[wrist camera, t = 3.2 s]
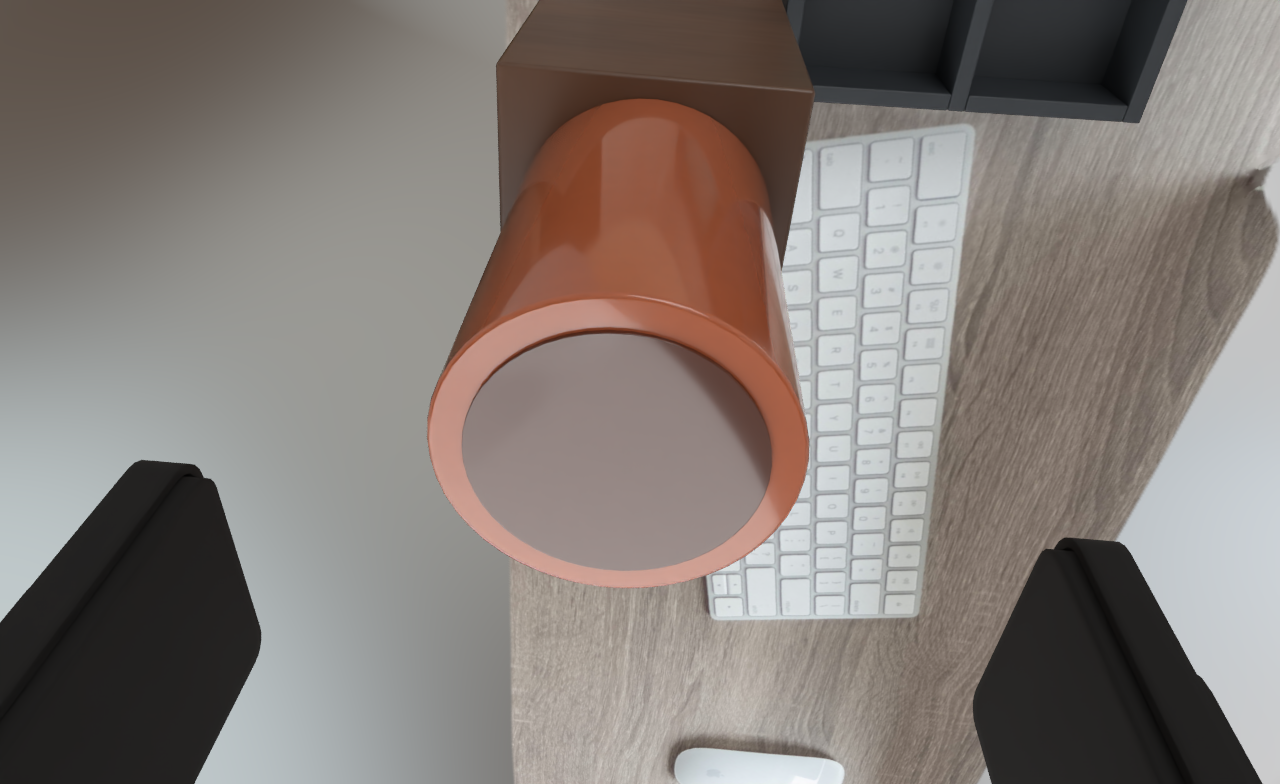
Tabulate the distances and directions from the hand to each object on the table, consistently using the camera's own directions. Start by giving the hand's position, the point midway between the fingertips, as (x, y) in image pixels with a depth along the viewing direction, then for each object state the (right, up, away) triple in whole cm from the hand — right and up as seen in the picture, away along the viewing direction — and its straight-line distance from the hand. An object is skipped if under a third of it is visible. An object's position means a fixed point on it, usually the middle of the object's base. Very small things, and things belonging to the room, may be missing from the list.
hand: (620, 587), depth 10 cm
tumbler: (0, +6, +8) cm, 10 cm away
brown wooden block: (+2, +20, +27) cm, 34 cm away
